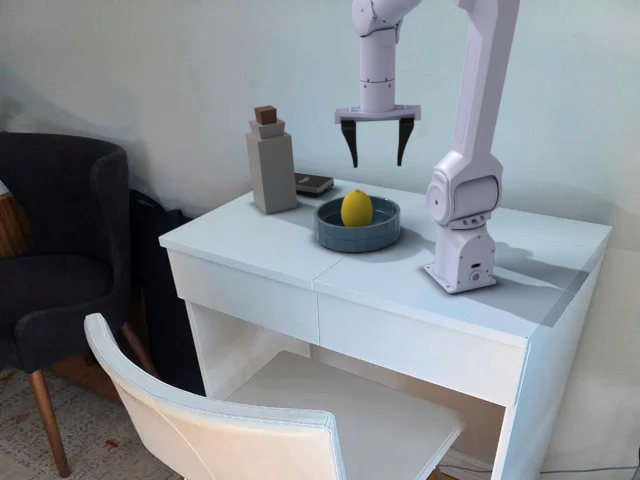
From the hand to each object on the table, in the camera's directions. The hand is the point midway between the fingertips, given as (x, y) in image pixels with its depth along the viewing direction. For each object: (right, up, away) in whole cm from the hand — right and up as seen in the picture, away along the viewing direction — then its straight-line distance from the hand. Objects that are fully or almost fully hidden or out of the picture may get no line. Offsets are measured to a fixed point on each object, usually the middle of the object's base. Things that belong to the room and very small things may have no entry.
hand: (377, 165), depth 108 cm
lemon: (-3, -12, +2) cm, 12 cm away
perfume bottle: (-19, -1, +16) cm, 25 cm away
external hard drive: (-13, +4, +22) cm, 26 cm away
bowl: (-3, -12, +2) cm, 12 cm away
